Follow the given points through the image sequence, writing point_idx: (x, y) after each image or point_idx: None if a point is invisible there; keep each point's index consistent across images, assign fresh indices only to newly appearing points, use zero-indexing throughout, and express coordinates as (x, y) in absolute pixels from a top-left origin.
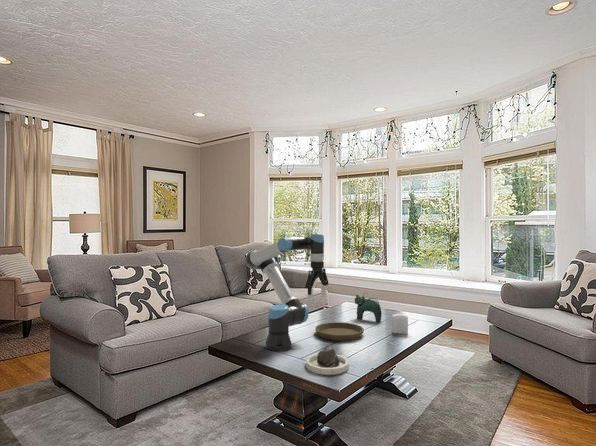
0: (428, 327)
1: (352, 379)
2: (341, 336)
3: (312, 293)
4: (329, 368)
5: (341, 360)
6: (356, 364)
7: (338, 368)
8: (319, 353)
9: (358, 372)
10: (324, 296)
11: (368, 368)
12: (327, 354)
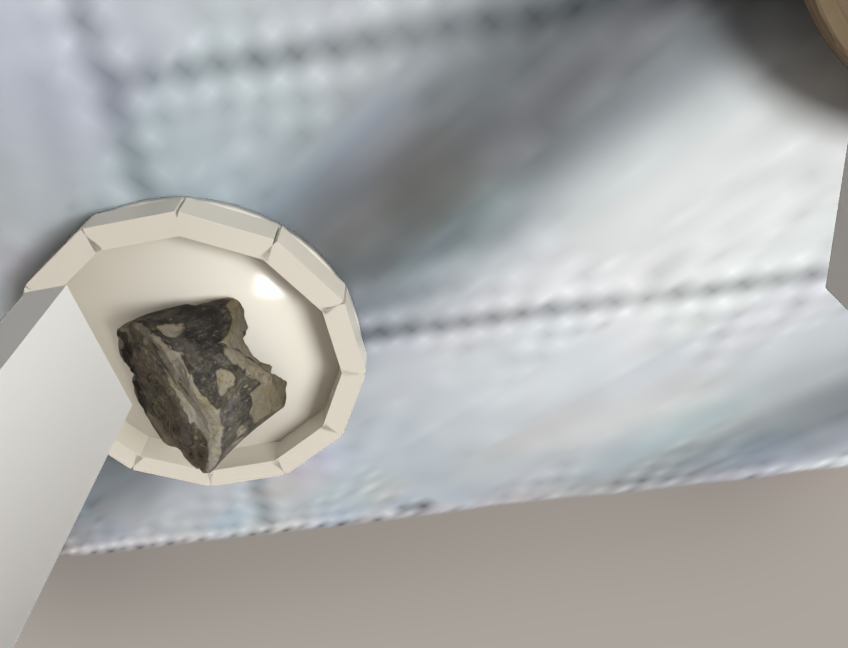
0: None
1: (207, 525)
2: (823, 37)
3: (24, 588)
4: (119, 454)
5: (339, 368)
6: (397, 429)
7: (178, 477)
8: (148, 339)
9: (307, 497)
10: (834, 268)
11: (401, 497)
12: (176, 408)
